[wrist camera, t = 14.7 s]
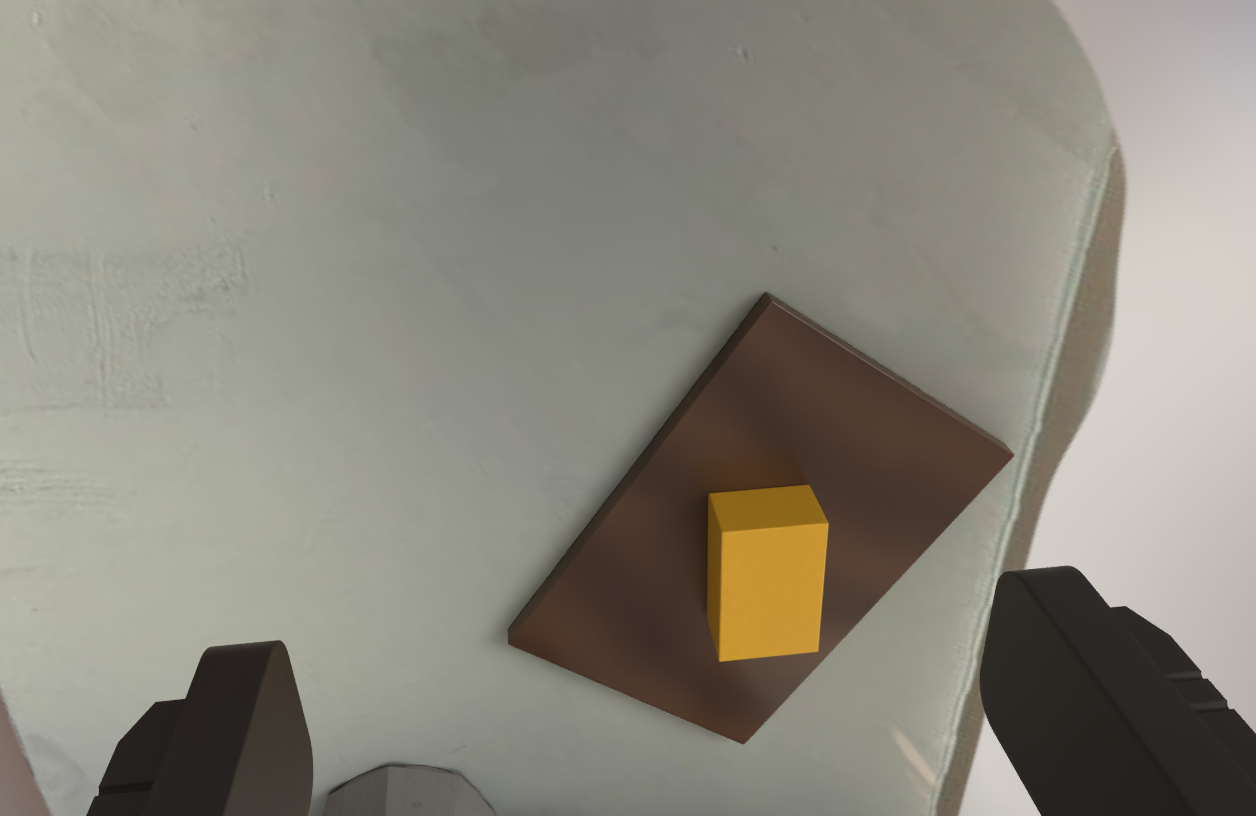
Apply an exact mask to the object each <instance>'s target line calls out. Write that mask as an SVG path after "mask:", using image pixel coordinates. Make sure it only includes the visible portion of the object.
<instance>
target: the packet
mask: <svg viewBox="0 0 1256 816" xmlns="http://www.w3.org/2000/svg"><path fill="white" fill-rule="evenodd" d="M828 525H829V523H828V521H827V519H826V517H825V515H824V513H823V511H822V509H821V507H820V505H819V503H818V501H817V499H816V497H815V495H814V493H813V491H812V489H811V487H810V485H798V486H786V487H775V488H764V489H752V490H741V491H729V492H718V493H709V495H708V564H707V620H708V624H709V627H710V631H711V634H712V638H713V642H714V645H715V649H716V653H717V656H718V660H719V661H720V662H722V661H732V660H742V659H752V658H761V657H771V656H781V655H791V654H800V653H810V652H817V651H818V646H819V634H820V622H821V610H822V597H823V585H824V573H825V561H826V549H827V537H828Z"/></svg>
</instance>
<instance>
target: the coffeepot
mask: <svg viewBox="0 0 1256 816" xmlns="http://www.w3.org/2000/svg"><path fill="white" fill-rule="evenodd" d="M323 816H496V814H495V813H494V812H493V810H492V809H491V808H490V806H489V805H488V804H487V802H486V801H485V800H484V798H483V797H482V795H481V794H480V793H479V791H478V790H477V789H476V788H475V787H473V786H472V785H471V784H470V783H469V782H468V781H466V780H464V779H462V778H461V776H460V775H457V774H454V773H451V772H448V771H445V770H442V769H438V768H433V767H428V766H418V765H400V766H388V767H384V768H380V769H376V770H373V771H370V772H368V773H365V774H363V775H360V776H358V777H356V778H355V779H353V780H351V781H350V782H348V783H346V784H345V785H344V786H343V787H342V788H340V789H339V790H338V791H336V792H334V793H332V794H330V795H328V799H327V803H326V807H325V811H324V815H323Z"/></svg>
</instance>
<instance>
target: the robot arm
mask: <svg viewBox="0 0 1256 816" xmlns="http://www.w3.org/2000/svg"><path fill="white" fill-rule="evenodd" d="M980 691H981V698H982V703H983V707H984V710H985V713H986V716H987V719H988V721H989V724H990V726H991V727H992V729H993V732H994V733H995V735H996V737H997V739H998V740H999V742H1000V744H1001V745H1002V747H1003V749H1004V751H1005V753H1006V754H1007V756H1008V758H1009V760H1010V761H1011V763H1012V765H1013V767H1014V768H1015V770H1016V772H1017V774H1018V775H1019V777H1020V779H1021V781H1022V782H1023V784H1024V786H1025V788H1026V790H1027V791H1028V793H1029V795H1030V796H1031V798H1032V800H1033V802H1034V804H1035V805H1036V807H1037V809H1038V811H1039V812H1040V814H1041V816H1256V734H1255V732H1254V731H1253V730H1252V729H1251V728H1250V727H1249V726H1248V724H1247V723H1246V722H1245V721H1244V720H1243V719H1242V718H1241V716H1240V715H1239V714H1238V713H1237V712H1236V711H1235V710H1234V709H1229V708H1228V706H1227V700H1226V699H1225V698H1224V697H1223V696H1222V695H1221V693H1220V692H1219V691H1218V690H1217V689H1216V688H1215V687H1214V685H1213V684H1212V683H1211V682H1210V681H1209V680H1208V679H1203V678H1202V676H1201V670H1200V669H1199V668H1198V667H1197V666H1196V665H1195V664H1194V663H1193V661H1192V660H1191V659H1190V658H1189V657H1188V655H1187V654H1186V653H1185V652H1184V651H1183V650H1182V649H1181V648H1180V646H1179V645H1178V644H1177V643H1176V642H1175V641H1174V639H1173V638H1172V637H1171V636H1170V635H1169V634H1167V633H1166V632H1164V631H1163V630H1161V629H1159V628H1158V627H1157V626H1155V625H1153V624H1152V623H1150V622H1149V621H1147V620H1146V619H1144V618H1143V617H1141V616H1140V615H1138V614H1137V613H1135V612H1134V611H1132V610H1131V609H1129V608H1128V607H1126V606H1122V607H1112V608H1110V607H1109V606H1108V605H1107V603H1106V602H1105V601H1104V599H1103V598H1102V597H1101V596H1100V594H1099V593H1098V592H1097V591H1096V590H1095V588H1094V587H1093V586H1092V585H1091V584H1090V582H1089V581H1088V580H1087V579H1086V577H1085V576H1084V575H1083V574H1082V573H1081V572H1080V571H1079V570H1077V569H1076V568H1074V567H1072V566H1059V567H1050V568H1038V569H1028V570H1018V571H1008V572H1004V573H1003V574H1002V575H1001V576H1000V578H999V579H998V582H997V585H996V589H995V594H994V600H993V605H992V610H991V616H990V621H989V626H988V632H987V637H986V642H985V648H984V653H983V658H982V664H981V669H980ZM312 786H313V756H312V747H311V741H310V736H309V733H308V729H307V725H306V721H305V717H304V713H303V709H302V705H301V701H300V698H299V694H298V690H297V686H296V682H295V678H294V674H293V670H292V666H291V663H290V659H289V655H288V652H287V649H286V647H285V645H284V643H283V642H282V641H280V640H276V641H266V642H255V643H245V644H235V645H225V646H214V647H209V648H207V649H206V650H205V652H204V653H203V655H202V657H201V659H200V662H199V664H198V667H197V670H196V672H195V675H194V677H193V680H192V683H191V685H190V688H189V691H188V693H187V696H186V699H181V700H171V701H161V702H155V703H154V704H153V705H152V707H151V708H150V709H149V710H148V711H147V712H146V713H145V714H144V715H143V716H142V717H141V718H140V720H139V721H138V722H137V723H136V724H135V725H134V726H133V727H132V728H131V729H130V730H129V731H128V733H127V734H126V735H125V736H124V737H123V738H122V739H121V740H120V741H119V742H118V744H117V747H116V749H115V751H114V753H113V756H112V758H111V760H110V763H109V765H108V767H107V769H106V772H105V774H104V776H103V779H102V781H101V783H100V785H99V795H98V796H95V797H94V799H93V802H92V804H91V806H90V808H89V811H88V813H87V815H86V816H308V812H309V807H310V802H311V796H312Z"/></svg>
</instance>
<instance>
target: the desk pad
mask: <svg viewBox="0 0 1256 816" xmlns="http://www.w3.org/2000/svg"><path fill="white" fill-rule="evenodd" d="M1013 457H1014V454H1013V453H1012V451H1011V450H1010V449H1009V448H1008V447H1007V446H1006V445H1005V444H1004V443H1003V442H1001V441H999V440H998V439H996V438H995V437H993V436H992V435H990V434H988V433H987V432H985V431H984V430H982V429H981V428H979V427H977V426H976V425H974V424H973V423H971V422H970V421H968V420H966V419H965V418H963V417H962V416H960V415H959V414H957V413H956V412H954V411H952V410H951V409H949V408H948V407H946V406H945V405H943V404H941V403H940V402H938V401H937V400H935V399H934V398H932V397H930V396H929V395H927V394H926V393H924V392H923V391H921V390H919V389H918V388H916V387H915V386H913V385H912V384H910V383H908V382H907V381H905V380H904V379H902V378H901V377H899V376H898V375H896V374H894V373H893V372H891V371H890V370H888V369H887V368H885V367H883V366H882V365H880V364H879V363H877V362H876V361H874V360H872V359H871V358H869V357H868V356H866V355H865V354H863V353H861V352H860V351H858V350H857V349H855V348H854V347H852V346H851V345H849V344H847V343H846V342H844V341H843V340H841V339H840V338H838V337H836V336H835V335H833V334H832V333H830V332H829V331H827V330H825V329H824V328H822V327H821V326H819V325H818V324H816V323H814V322H813V321H811V320H810V319H808V318H807V317H805V316H804V315H802V314H800V313H799V312H797V311H796V310H794V309H793V308H791V307H789V306H788V305H786V304H785V303H783V302H782V301H780V300H778V299H777V298H775V297H774V296H772V295H771V294H769V293H767V292H766V293H765V294H764V295H763V297H762V298H761V299H760V301H759V302H758V303H757V305H756V306H755V307H754V308H753V310H752V311H751V312H750V314H749V315H748V316H747V318H746V319H745V320H744V322H743V323H742V324H741V326H740V327H739V328H738V329H737V331H736V332H735V333H734V335H733V336H732V337H731V339H730V340H729V341H728V343H727V344H726V345H725V346H724V348H723V349H722V350H721V352H720V353H719V354H718V356H717V357H716V358H715V360H714V361H713V362H712V363H711V365H710V366H709V367H708V369H707V370H706V371H705V373H704V374H703V375H702V377H701V378H700V379H699V381H698V382H697V383H696V384H695V386H694V387H693V388H692V390H691V391H690V392H689V394H688V395H687V396H686V398H685V399H684V400H683V401H682V403H681V404H680V405H679V407H678V408H677V409H676V411H675V412H674V413H673V415H672V416H671V417H670V418H669V420H668V421H667V422H666V424H665V425H664V426H663V428H662V429H661V430H660V432H659V433H658V434H657V436H656V437H655V438H654V439H653V441H652V442H651V443H650V445H649V446H648V447H647V449H646V450H645V451H644V453H643V454H642V455H641V456H640V458H639V459H638V460H637V462H636V463H635V464H634V466H633V467H632V468H631V470H630V471H629V472H628V474H627V475H626V476H625V477H624V479H623V480H622V481H621V483H620V484H619V485H618V487H617V488H616V489H615V491H614V492H613V493H612V494H611V496H610V497H609V498H608V500H607V501H606V502H605V504H604V505H603V506H602V508H601V509H600V510H599V511H598V513H597V514H596V515H595V517H594V518H593V519H592V521H591V522H590V523H589V525H588V526H587V527H586V529H585V530H584V531H583V532H582V534H581V535H580V536H579V538H578V539H577V540H576V542H575V543H574V544H573V546H572V547H571V548H570V549H569V551H568V552H567V553H566V555H565V556H564V557H563V559H562V560H561V561H560V563H559V564H558V565H557V566H556V568H555V569H554V570H553V572H552V573H551V574H550V576H549V577H548V578H547V580H546V581H545V582H544V584H543V585H542V586H541V587H540V589H539V590H538V591H537V593H536V594H535V595H534V597H533V598H532V599H531V601H530V602H529V603H528V604H527V606H526V607H525V608H524V610H523V611H522V612H521V614H520V615H519V616H518V618H517V619H516V620H515V621H514V623H513V624H512V625H511V627H510V628H509V629H508V644H509V645H512V646H514V647H516V648H519V649H521V650H523V651H526V652H528V653H530V654H533V655H535V656H537V657H540V658H542V659H544V660H547V661H549V662H551V663H554V664H556V665H558V666H561V667H563V668H565V669H568V670H570V671H572V672H575V673H577V674H579V675H582V676H584V677H586V678H589V679H591V680H594V681H596V682H598V683H601V684H603V685H605V686H608V687H610V688H612V689H615V690H617V691H619V692H622V693H624V694H626V695H629V696H631V697H633V698H636V699H638V700H640V701H643V702H645V703H647V704H650V705H652V706H654V707H657V708H659V709H661V710H664V711H666V712H669V713H671V714H673V715H676V716H678V717H680V718H683V719H685V720H687V721H690V722H692V723H694V724H697V725H699V726H701V727H704V728H706V729H708V730H711V731H713V732H715V733H718V734H720V735H722V736H725V737H727V738H729V739H732V740H734V741H736V742H739V743H741V744H745V743H746V742H747V741H748V740H749V739H750V738H751V737H752V736H753V735H754V734H755V733H756V731H757V730H758V729H759V728H760V727H761V726H762V725H763V724H764V723H765V722H766V721H767V720H768V719H769V718H770V717H771V715H772V714H773V713H774V712H775V711H776V710H777V709H778V708H779V707H780V706H781V705H782V704H783V703H784V702H785V700H786V699H787V698H788V697H789V696H790V695H791V694H792V693H793V692H794V691H795V690H796V689H797V688H798V687H799V686H800V684H801V683H802V682H803V681H804V680H805V679H806V678H807V677H808V676H809V675H810V674H811V673H812V672H813V671H814V669H815V668H816V667H817V666H818V665H819V664H820V663H821V662H822V661H823V660H824V659H825V658H826V657H827V656H828V655H829V653H830V652H831V651H832V650H833V649H834V648H835V647H836V646H837V645H838V644H839V643H840V642H841V641H842V640H843V638H844V637H845V636H846V635H847V634H848V633H849V632H850V631H851V630H852V629H853V628H854V627H855V626H856V625H857V624H858V622H859V621H860V620H861V619H862V618H863V617H864V616H865V615H866V614H867V613H868V612H869V611H870V610H871V609H872V607H873V606H874V605H875V604H876V603H877V602H878V601H879V600H880V599H881V598H882V597H883V596H884V595H885V594H886V592H887V591H888V590H889V589H890V588H891V587H892V586H893V585H894V584H895V583H896V582H897V581H898V580H899V579H900V578H901V576H902V575H903V574H904V573H905V572H906V571H907V570H908V569H909V568H910V567H911V566H912V565H913V564H914V563H915V561H916V560H917V559H918V558H919V557H920V556H921V555H922V554H923V553H924V552H925V551H926V550H927V549H928V548H929V547H930V545H931V544H932V543H933V542H934V541H935V540H936V539H937V538H938V537H939V536H940V535H941V534H942V533H943V532H944V530H945V529H946V528H947V527H948V526H949V525H950V524H951V523H952V522H953V521H954V520H955V519H956V518H957V517H958V516H959V514H960V513H961V512H962V511H963V510H964V509H965V508H966V507H967V506H968V505H969V504H970V503H971V502H972V501H973V499H974V498H975V497H976V496H977V495H978V494H979V493H980V492H981V491H982V490H983V489H984V488H985V487H986V486H987V485H988V483H989V482H990V481H991V480H992V479H993V478H994V477H995V476H996V475H997V474H998V473H999V472H1000V471H1001V470H1002V468H1003V467H1004V466H1005V465H1006V464H1007V463H1008V462H1009V461H1010V460H1011V459H1012V458H1013ZM798 485H810V487H811V489H812V491H813V493H814V495H815V497H816V499H817V501H818V503H819V505H820V507H821V509H822V511H823V513H824V515H825V517H826V519H827V521H828V523H829V525H828V537H827V549H826V561H825V573H824V585H823V597H822V610H821V622H820V634H819V646H818V651H817V652H810V653H800V654H791V655H781V656H771V657H761V658H752V659H742V660H732V661H722V662H720V661H719V660H718V656H717V653H716V649H715V645H714V642H713V638H712V634H711V631H710V627H709V624H708V620H707V564H708V495H709V493H718V492H729V491H741V490H752V489H764V488H775V487H786V486H798Z"/></svg>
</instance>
